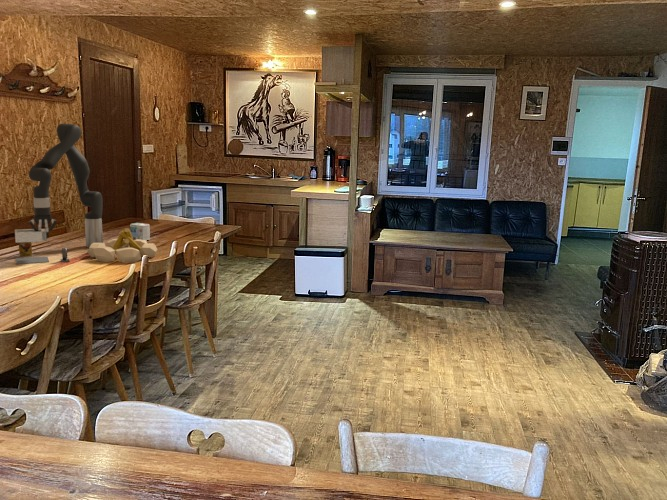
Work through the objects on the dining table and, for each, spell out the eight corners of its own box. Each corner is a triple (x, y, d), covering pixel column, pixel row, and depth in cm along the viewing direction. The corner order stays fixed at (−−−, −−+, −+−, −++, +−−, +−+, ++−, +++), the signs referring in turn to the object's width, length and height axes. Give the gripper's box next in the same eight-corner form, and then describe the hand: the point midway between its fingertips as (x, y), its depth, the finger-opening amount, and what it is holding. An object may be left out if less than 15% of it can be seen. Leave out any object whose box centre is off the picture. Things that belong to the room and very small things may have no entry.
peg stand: (68, 260, 291) (68, 247, 289) (69, 261, 287) (68, 248, 286) (60, 260, 289) (59, 247, 287) (61, 262, 285) (60, 249, 284)
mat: (47, 257, 296) (47, 256, 296) (49, 262, 285) (49, 261, 285) (15, 259, 288) (15, 258, 288) (16, 264, 277) (16, 263, 277)
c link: (45, 237, 292) (44, 228, 291) (46, 241, 283) (46, 231, 282) (15, 239, 285) (14, 229, 284) (15, 242, 276) (15, 232, 275)
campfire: (126, 266, 284) (125, 234, 280) (75, 259, 295) (73, 228, 292) (167, 254, 316) (167, 225, 313) (120, 248, 327) (119, 220, 324)
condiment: (25, 257, 292) (24, 235, 290) (13, 256, 294) (11, 234, 292) (36, 255, 299) (35, 233, 296) (24, 253, 301) (22, 232, 299)
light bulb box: (130, 240, 352) (129, 223, 349) (137, 238, 358) (136, 222, 355) (143, 242, 348) (142, 225, 346) (150, 240, 354) (150, 224, 352)
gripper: (27, 207, 277) (29, 240, 280) (57, 206, 284) (59, 239, 287) (26, 205, 283) (28, 238, 287) (56, 205, 290) (57, 236, 294)
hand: (43, 238), depth 287 cm, fingers closed on c link
